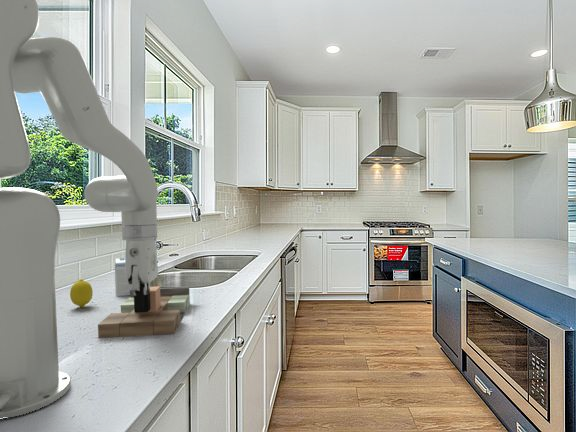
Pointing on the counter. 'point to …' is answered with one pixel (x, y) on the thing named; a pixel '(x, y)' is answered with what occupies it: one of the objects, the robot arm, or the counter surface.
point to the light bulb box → (121, 278)
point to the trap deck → (147, 316)
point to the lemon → (81, 293)
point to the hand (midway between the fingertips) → (142, 311)
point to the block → (154, 299)
